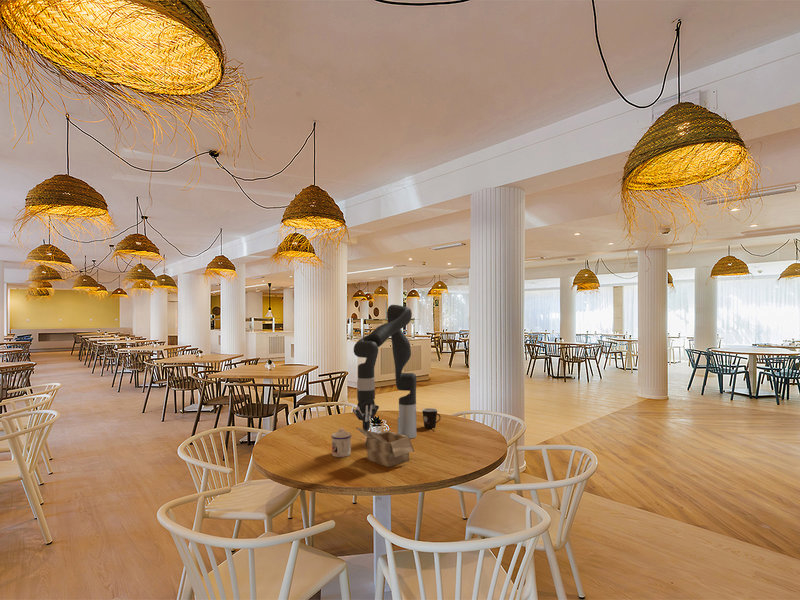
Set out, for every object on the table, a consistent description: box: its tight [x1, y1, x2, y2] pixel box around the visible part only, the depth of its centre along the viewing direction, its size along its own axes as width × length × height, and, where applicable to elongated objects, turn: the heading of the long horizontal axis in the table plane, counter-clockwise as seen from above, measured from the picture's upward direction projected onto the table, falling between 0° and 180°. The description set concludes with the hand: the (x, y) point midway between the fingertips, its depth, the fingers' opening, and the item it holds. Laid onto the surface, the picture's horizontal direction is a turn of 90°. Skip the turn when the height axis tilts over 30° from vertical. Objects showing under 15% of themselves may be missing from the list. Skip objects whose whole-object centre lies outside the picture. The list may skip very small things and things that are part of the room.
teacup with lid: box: [331, 428, 352, 458], centre depth 192 cm, size 12×9×12 cm
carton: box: [363, 430, 415, 468], centre depth 186 cm, size 20×16×10 cm
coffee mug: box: [421, 407, 441, 430], centre depth 238 cm, size 12×9×10 cm
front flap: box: [355, 426, 387, 443], centre depth 178 cm, size 13×1×8 cm
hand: (366, 429), depth 176 cm, fingers closed
